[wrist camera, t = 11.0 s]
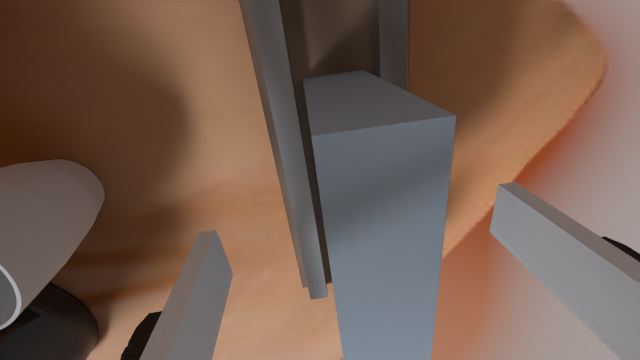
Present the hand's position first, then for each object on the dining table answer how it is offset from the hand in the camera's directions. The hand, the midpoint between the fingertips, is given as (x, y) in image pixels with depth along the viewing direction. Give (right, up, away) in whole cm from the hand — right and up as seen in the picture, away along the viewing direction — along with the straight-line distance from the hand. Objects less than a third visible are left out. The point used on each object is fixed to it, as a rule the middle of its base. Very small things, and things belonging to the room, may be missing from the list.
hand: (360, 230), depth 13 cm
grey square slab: (0, +4, +8) cm, 9 cm away
